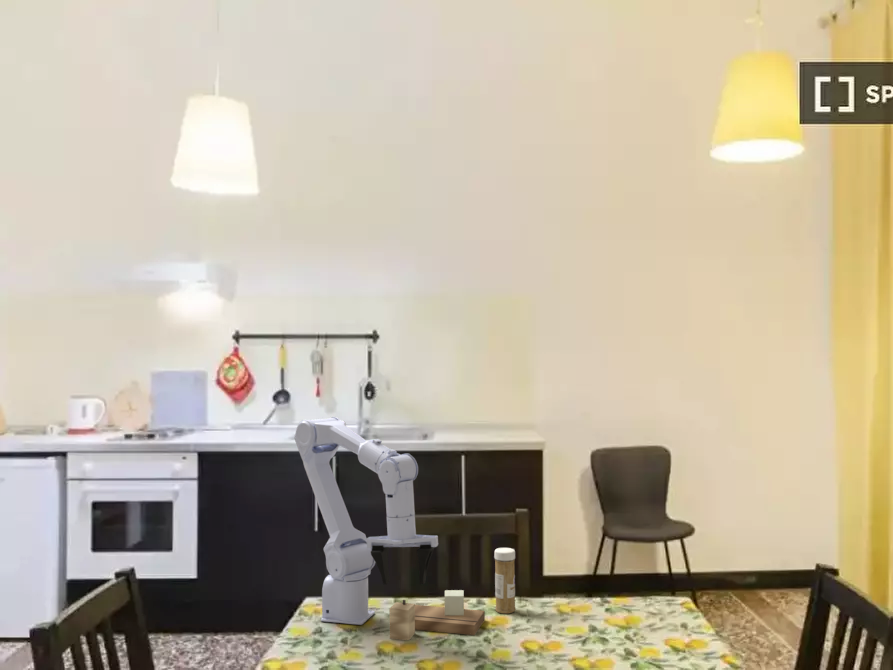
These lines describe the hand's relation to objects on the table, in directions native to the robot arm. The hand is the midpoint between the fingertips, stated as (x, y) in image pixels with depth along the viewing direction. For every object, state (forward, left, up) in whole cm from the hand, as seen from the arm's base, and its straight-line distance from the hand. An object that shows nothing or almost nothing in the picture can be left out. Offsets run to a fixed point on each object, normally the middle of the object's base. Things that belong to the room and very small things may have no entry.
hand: (404, 583), depth 160 cm
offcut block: (+7, +10, -9) cm, 15 cm away
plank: (+5, +8, -11) cm, 15 cm away
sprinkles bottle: (+16, +20, -11) cm, 28 cm away
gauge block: (-1, 0, -11) cm, 11 cm away
